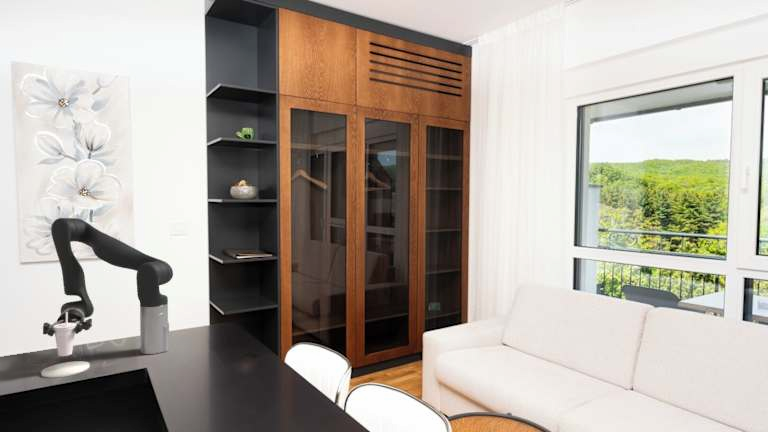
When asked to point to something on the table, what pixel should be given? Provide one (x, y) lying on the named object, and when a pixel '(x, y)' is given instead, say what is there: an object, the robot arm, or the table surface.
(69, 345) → the smoothie
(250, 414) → the table surface
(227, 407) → the table surface
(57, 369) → the plate
